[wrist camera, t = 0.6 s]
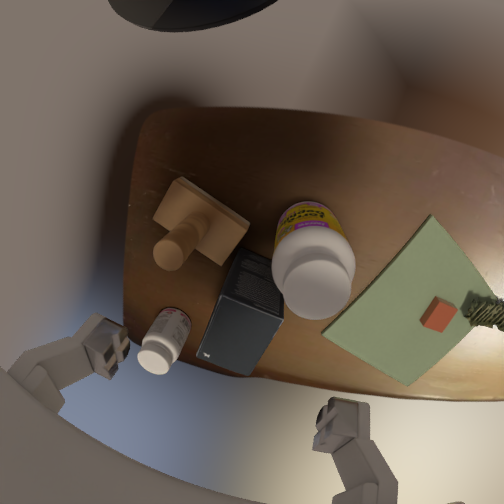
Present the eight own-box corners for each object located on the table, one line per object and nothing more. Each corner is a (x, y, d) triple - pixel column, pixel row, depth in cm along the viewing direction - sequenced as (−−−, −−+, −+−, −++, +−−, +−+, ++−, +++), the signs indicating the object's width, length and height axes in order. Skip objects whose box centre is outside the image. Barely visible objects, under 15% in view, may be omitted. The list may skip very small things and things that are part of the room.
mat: (430, 214, 28) (432, 215, 27) (496, 298, 30) (498, 300, 30) (321, 332, 35) (321, 335, 35) (406, 384, 38) (407, 386, 38)
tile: (435, 295, 31) (439, 301, 30) (453, 303, 31) (458, 309, 30) (419, 319, 33) (422, 326, 31) (438, 326, 33) (442, 333, 31)
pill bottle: (156, 325, 38) (132, 365, 31) (163, 301, 36) (136, 341, 29) (187, 339, 39) (167, 382, 31) (196, 316, 37) (175, 359, 29)
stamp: (161, 212, 32) (112, 247, 22) (182, 176, 30) (135, 197, 20) (226, 256, 33) (200, 308, 23) (250, 222, 31) (233, 265, 21)
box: (259, 316, 35) (248, 378, 26) (217, 298, 35) (193, 357, 26) (286, 265, 32) (285, 321, 23) (240, 245, 32) (219, 294, 22)
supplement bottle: (325, 190, 29) (351, 229, 17) (345, 245, 31) (375, 312, 19) (266, 214, 30) (252, 267, 19) (290, 266, 32) (289, 341, 21)
